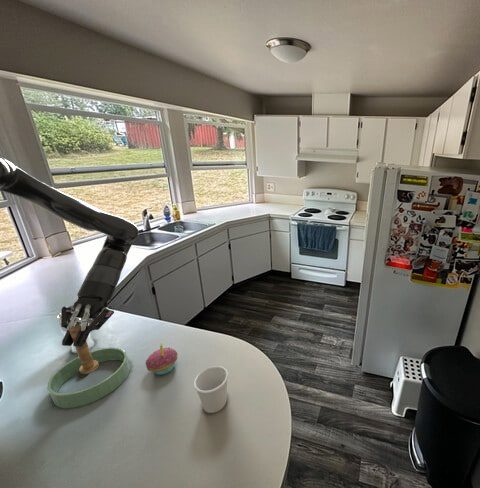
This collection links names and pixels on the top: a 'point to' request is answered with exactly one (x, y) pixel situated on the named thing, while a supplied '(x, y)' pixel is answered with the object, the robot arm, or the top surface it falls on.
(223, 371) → the dixie cup
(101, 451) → the top surface
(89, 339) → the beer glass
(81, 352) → the wooden cylinder
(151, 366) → the cupcake
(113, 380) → the oval ring
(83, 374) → the walnut bead
